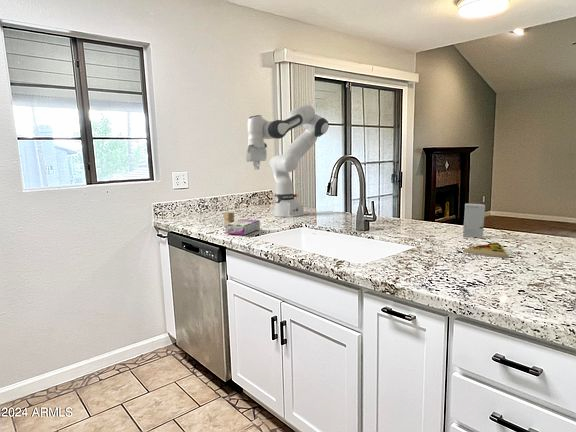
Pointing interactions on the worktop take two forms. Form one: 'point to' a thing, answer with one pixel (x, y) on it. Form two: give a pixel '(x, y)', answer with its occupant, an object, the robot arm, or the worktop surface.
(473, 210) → the skincare box
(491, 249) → the pizza slice
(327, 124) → the robot arm
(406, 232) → the worktop surface
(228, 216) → the oak block
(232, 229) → the candy bar box
